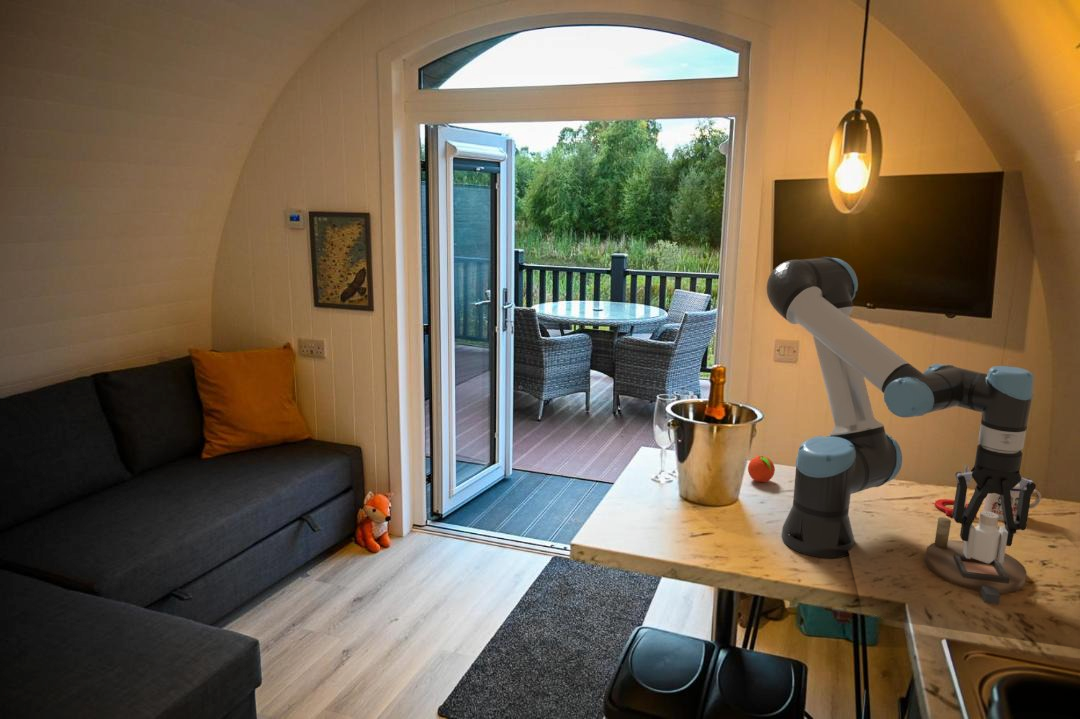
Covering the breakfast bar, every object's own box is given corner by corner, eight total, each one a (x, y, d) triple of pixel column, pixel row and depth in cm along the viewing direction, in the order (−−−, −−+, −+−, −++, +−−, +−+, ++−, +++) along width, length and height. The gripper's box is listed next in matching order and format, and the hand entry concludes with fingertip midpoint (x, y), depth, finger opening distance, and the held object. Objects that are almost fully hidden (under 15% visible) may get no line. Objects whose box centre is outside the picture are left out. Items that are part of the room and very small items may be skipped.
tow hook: (929, 502, 192) (942, 516, 183) (935, 453, 189) (949, 465, 180) (965, 504, 191) (980, 519, 182) (971, 455, 188) (987, 468, 179)
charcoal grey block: (983, 607, 144) (985, 593, 143) (979, 599, 147) (981, 585, 146) (997, 609, 143) (1000, 595, 143) (993, 601, 146) (995, 587, 145)
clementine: (781, 486, 200) (783, 461, 198) (757, 489, 198) (760, 463, 196) (764, 475, 207) (766, 450, 205) (742, 477, 205) (743, 453, 204)
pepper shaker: (989, 565, 148) (996, 520, 146) (967, 557, 151) (974, 513, 149) (997, 559, 150) (1004, 515, 148) (975, 551, 153) (982, 508, 151)
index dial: (991, 602, 144) (997, 564, 142) (906, 560, 159) (910, 526, 157) (1043, 579, 152) (1050, 542, 150) (958, 541, 167) (963, 508, 165)
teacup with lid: (988, 521, 180) (995, 475, 178) (976, 505, 189) (983, 461, 186) (1044, 526, 178) (1052, 480, 175) (1029, 510, 186) (1037, 466, 184)
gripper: (952, 449, 144) (936, 559, 149) (1061, 458, 139) (1040, 573, 145) (943, 436, 151) (928, 542, 156) (1046, 445, 146) (1027, 554, 152)
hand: (982, 557), depth 151 cm, fingers closed on pepper shaker, 5 cm apart
